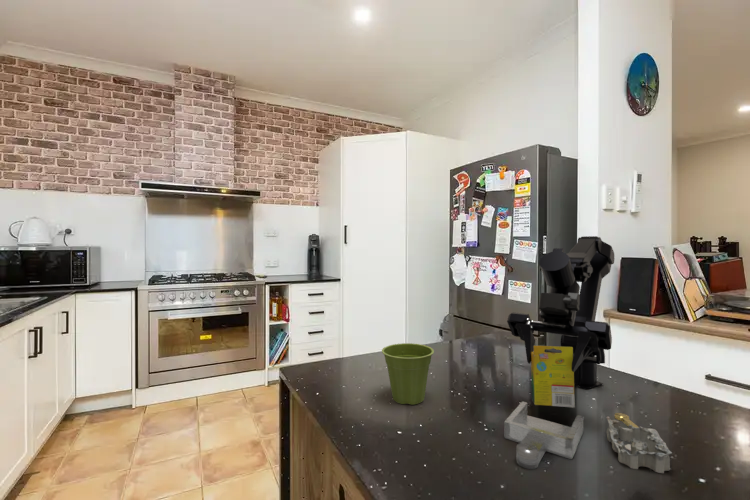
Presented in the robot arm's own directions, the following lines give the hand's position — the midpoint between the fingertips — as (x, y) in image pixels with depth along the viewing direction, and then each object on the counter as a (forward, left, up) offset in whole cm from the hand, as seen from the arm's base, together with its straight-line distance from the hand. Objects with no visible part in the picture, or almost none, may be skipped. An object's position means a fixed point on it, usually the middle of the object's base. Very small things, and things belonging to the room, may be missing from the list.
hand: (549, 366), depth 71 cm
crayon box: (-1, -1, -8) cm, 8 cm away
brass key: (-14, +7, -12) cm, 20 cm away
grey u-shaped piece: (+7, +4, -12) cm, 14 cm away
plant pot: (+19, -22, -12) cm, 32 cm away
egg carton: (-6, +13, -12) cm, 18 cm away
